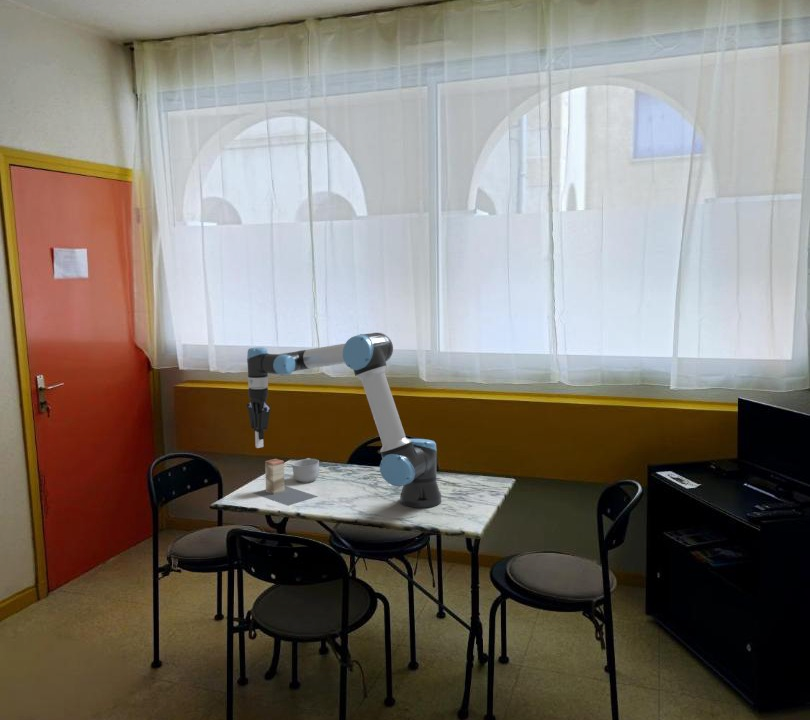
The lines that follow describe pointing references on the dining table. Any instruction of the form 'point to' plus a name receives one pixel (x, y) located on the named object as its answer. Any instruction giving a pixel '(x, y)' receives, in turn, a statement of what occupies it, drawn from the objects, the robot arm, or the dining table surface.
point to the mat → (287, 496)
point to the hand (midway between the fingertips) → (259, 447)
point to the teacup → (306, 470)
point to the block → (274, 476)
